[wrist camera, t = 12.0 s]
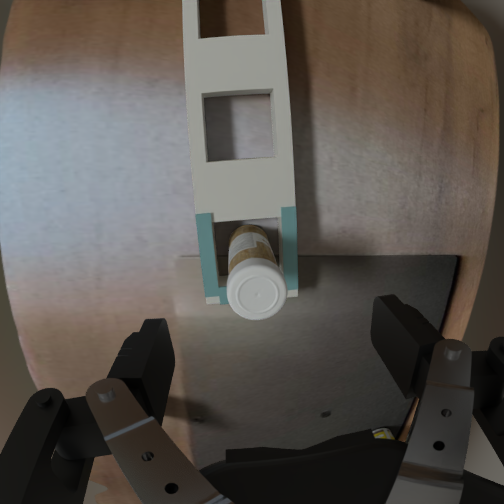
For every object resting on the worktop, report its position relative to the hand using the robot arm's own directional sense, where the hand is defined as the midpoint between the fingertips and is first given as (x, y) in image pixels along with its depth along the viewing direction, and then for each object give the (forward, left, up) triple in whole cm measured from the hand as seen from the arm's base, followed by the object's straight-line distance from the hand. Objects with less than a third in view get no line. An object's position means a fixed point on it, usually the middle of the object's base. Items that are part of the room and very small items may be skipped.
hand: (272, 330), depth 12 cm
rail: (0, -9, -25) cm, 26 cm away
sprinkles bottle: (0, +4, -25) cm, 25 cm away
